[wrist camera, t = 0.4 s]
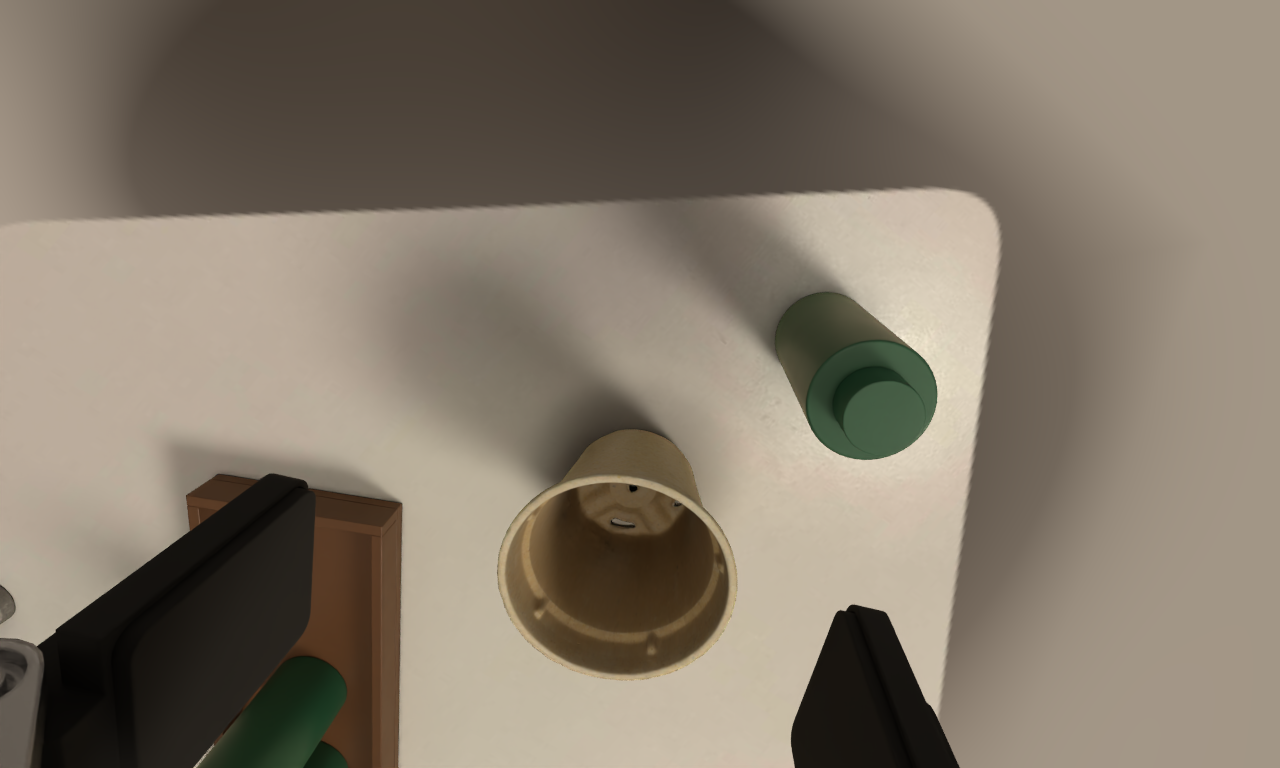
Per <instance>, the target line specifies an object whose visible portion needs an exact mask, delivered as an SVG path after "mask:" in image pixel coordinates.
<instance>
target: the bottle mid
mask: <svg viewBox="0 0 1280 768" xmlns="http://www.w3.org/2000/svg"><path fill="white" fill-rule="evenodd" d="M346 697H347V687H346V683H345V681H344V679H343V677H342V676H341V674H340V673H339V672H338V671H337V670H336V669H335V668H334V667H333V666H331V665H330V664H328V663H326V662H325V661H322V660H320V659H317V658H313V657H307V656H300V657H294V658H291V659H288V660H287V661H285V662H284V663H282V664H281V665H280V666H279V668H278V669H277V670H276V671H275V673H274V674H273V675H272V676H271V677H270V679H269V680H268V681H267V682H266V684H265V685H264V686H263V687H262V688H261V690H260V691H259V692H258V693H257V695H256V696H255V697H254V698H253V699H252V701H251V702H250V703H249V704H248V706H247V707H246V708H245V709H244V710H243V712H242V713H241V714H240V715H239V717H238V718H237V719H236V720H235V721H234V723H233V724H232V725H231V726H230V728H229V729H228V730H227V731H226V732H225V734H224V735H223V736H222V737H221V739H220V740H219V741H218V742H217V743H216V745H215V746H214V747H213V748H212V750H211V751H210V752H209V753H208V754H207V756H206V757H205V758H204V759H203V761H202V762H201V763H200V764H199V766H198V767H197V768H303V767H304V765H305V764H306V762H307V761H308V759H309V757H310V756H311V754H312V753H313V751H314V750H315V748H316V747H317V745H318V743H319V742H320V740H321V739H322V737H323V736H324V734H325V733H326V731H327V729H328V728H329V726H330V725H331V723H332V722H333V720H334V718H335V717H336V715H337V714H338V712H339V711H340V709H341V708H342V706H343V704H344V703H345V701H346Z"/></svg>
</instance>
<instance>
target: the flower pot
mask: <svg viewBox="0 0 1280 768" xmlns="http://www.w3.org/2000/svg"><path fill="white" fill-rule="evenodd" d="M630 485H636V486H637V490H636V491H630V489H629V486H630ZM676 500H677V501H679V502H680V503H681V504H680V505H679V506H675V505H674V504H675V501H676ZM614 518H617V519H620V520H622V521H625V522H631V523H634V525H635V527H623V526H617V525H615V524H612V523H611V520H612V519H614ZM497 567H498V570H497V576H498V585H499V590H500V594H501V597H502V599H503V602H504V606H505V608H506V610H507V613H508V616H509V617H510V619H511V621H512V623H513V624H514V625H515V627H516V628H517V629H518V630H519V632H520V633H521V635H522V636H523V637H524V638H525V639H526V640H527V641H528V642H529V643H530V644H531V645H532V646H533V647H534V648H536V649H537V650H538V651H540V652H541V653H542V654H544V655H545V656H546V657H547V658H549V659H550V660H552V661H554V662H556V663H559V664H561V665H562V666H565V667H567V668H568V669H570V670H572V671H576V672H579V673H582V674H585V675H589V676H593V677H599V678H603V679H613V680H644V679H649V678H653V677H658V676H661V675H666V674H669V673H672V672H674V671H677V670H679V669H681V668H683V667H685V666H687V665H689V664H690V663H692V662H693V661H695V660H696V659H697V658H699V657H701V656H703V655H704V654H705V653H706V652H707V651H708V650H709V649H710V648H711V647H712V646H713V645H714V644H715V642H716V641H718V639H719V638H720V636H721V635H722V633H723V632H724V630H725V628H726V626H727V624H728V622H729V620H730V618H731V616H732V612H733V609H734V605H735V601H736V594H737V570H736V565H735V561H734V557H733V553H732V550H731V547H730V544H729V542H728V540H727V538H726V536H725V534H724V532H723V530H722V529H721V528H720V526H719V525H718V523H717V522H716V521H715V520H714V518H713V517H712V516H711V515H710V514H709V513H708V512H707V511H706V510H705V509H704V508H703V506H702V503H701V500H700V497H699V494H698V490H697V487H696V484H695V480H694V475H693V472H692V469H691V467H690V464H689V463H688V461H687V459H686V458H685V456H684V455H683V454H682V452H681V451H680V450H679V449H678V448H677V447H676V446H675V445H674V444H673V443H672V442H670V441H669V440H667V439H665V438H664V437H661V436H659V435H657V434H655V433H652V432H649V431H644V430H636V429H626V430H619V431H615V432H612V433H610V434H608V435H606V436H603V437H601V438H599V439H598V440H596V441H594V442H593V443H592V444H590V445H589V446H588V447H587V448H586V449H585V451H584V452H583V453H582V455H581V456H580V458H579V459H578V460H577V462H576V463H575V464H574V466H573V467H572V468H571V469H570V471H569V472H568V473H567V475H566V476H565V477H564V478H563V480H562V481H561V482H560V483H557V484H556V485H554V486H552V487H550V488H548V489H546V490H545V491H543V492H542V493H540V494H539V495H537V496H536V497H535V498H534V499H532V500H531V501H530V502H529V503H528V504H527V505H526V506H525V507H524V508H523V509H522V510H521V511H520V513H519V514H518V515H517V516H516V518H515V519H514V521H513V522H512V524H511V525H510V527H509V529H508V530H507V532H506V535H505V537H504V539H503V542H502V545H501V548H500V552H499V557H498V566H497Z"/></svg>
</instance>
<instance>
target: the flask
mask: <svg viewBox="0 0 1280 768" xmlns="http://www.w3.org/2000/svg"><path fill="white" fill-rule="evenodd" d="M14 611H15V605H14V601H13V599H12V597H11V596H10V594H9V593H8V592H7V591H6V590H5V589H3V588H2V587H1V586H0V624H1V623H3V622H4V621H6V620H7V619H9V618H10V617H11V616H12V615H13V613H14Z"/></svg>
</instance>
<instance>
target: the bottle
mask: <svg viewBox="0 0 1280 768" xmlns="http://www.w3.org/2000/svg"><path fill="white" fill-rule="evenodd" d="M775 347H776V352H777V356H778V358H779V360H780V362H781V365H782V367H783V369H784V371H785V373H786V375H787V378H788V380H789V382H790V384H791V386H792V388H793V391H794V393H795V395H796V397H797V399H798V401H799V404H800V406H801V408H802V410H803V412H804V414H805V416H806V419H807V421H808V423H809V425H810V427H811V429H812V431H813V433H814V434H815V436H816V437H817V438H818V439H819V441H820V442H821V443H823V444H824V445H825V446H826V447H827V448H829V449H830V450H832V451H833V452H835V453H837V454H839V455H842V456H845V457H849V458H853V459H861V460H872V459H880V458H884V457H888V456H891V455H893V454H896V453H898V452H900V451H902V450H904V449H905V448H907V447H908V446H910V445H911V444H912V443H914V442H915V441H916V440H917V439H918V438H919V437H920V436H921V435H922V434H923V432H924V431H925V430H926V428H927V427H928V425H929V423H930V422H931V420H932V417H933V415H934V412H935V408H936V404H937V385H936V380H935V377H934V375H933V372H932V370H931V369H930V367H929V365H928V364H927V362H926V361H925V360H924V359H923V358H922V357H921V356H920V355H919V354H918V353H917V352H916V351H914V350H913V349H912V348H911V347H910V346H908V345H907V344H906V343H905V342H903V341H902V340H901V339H900V338H899V337H897V336H896V335H895V334H894V333H893V332H891V331H890V330H889V329H888V328H887V327H885V326H884V325H883V324H882V323H880V322H879V321H878V320H877V319H876V318H874V317H873V316H872V315H871V314H870V313H868V312H867V311H866V310H865V309H863V308H862V307H861V306H860V305H859V304H857V303H856V302H855V301H853V300H852V299H850V298H848V297H846V296H844V295H841V294H837V293H829V292H825V293H816V294H812V295H809V296H807V297H804V298H802V299H801V300H799V301H797V302H796V303H795V304H793V305H792V306H791V307H790V308H789V309H788V310H787V311H786V312H785V314H784V315H783V317H782V318H781V320H780V322H779V324H778V327H777V330H776V336H775Z"/></svg>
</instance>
